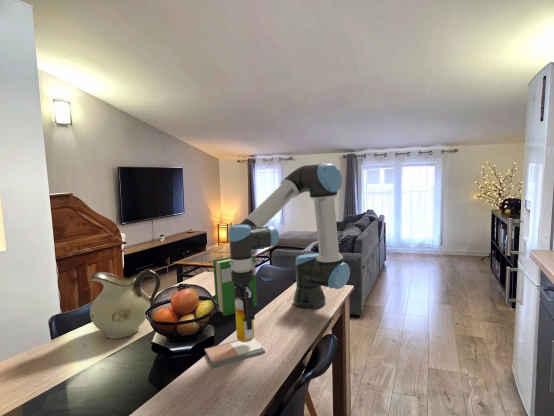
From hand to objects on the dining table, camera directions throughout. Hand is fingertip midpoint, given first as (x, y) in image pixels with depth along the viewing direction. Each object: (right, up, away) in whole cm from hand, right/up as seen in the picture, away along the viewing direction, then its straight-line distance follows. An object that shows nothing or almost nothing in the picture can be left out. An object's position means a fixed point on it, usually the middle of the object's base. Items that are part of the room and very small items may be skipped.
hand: (245, 333), depth 120 cm
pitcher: (-52, -6, +20) cm, 56 cm away
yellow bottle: (0, -2, 0) cm, 2 cm away
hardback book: (-8, -3, +39) cm, 40 cm away
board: (-4, -6, -1) cm, 7 cm away
